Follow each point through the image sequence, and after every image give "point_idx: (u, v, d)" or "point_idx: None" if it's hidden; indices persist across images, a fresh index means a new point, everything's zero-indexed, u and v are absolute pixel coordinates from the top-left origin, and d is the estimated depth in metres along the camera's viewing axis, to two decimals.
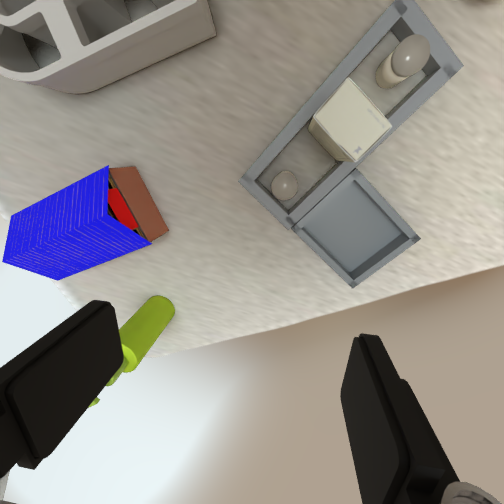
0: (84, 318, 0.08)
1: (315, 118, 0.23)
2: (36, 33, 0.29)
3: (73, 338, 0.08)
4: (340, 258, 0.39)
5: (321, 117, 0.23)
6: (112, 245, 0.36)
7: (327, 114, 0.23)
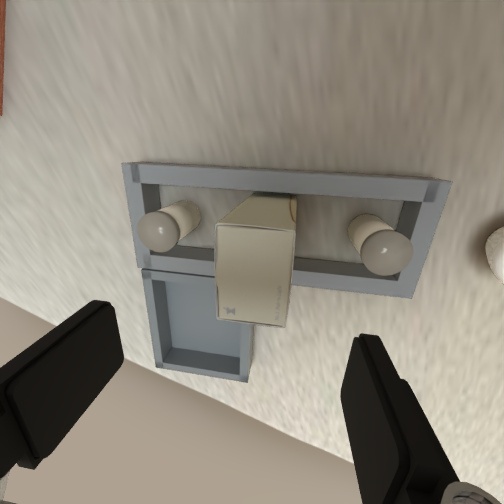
0: (84, 318, 0.08)
1: (216, 229, 0.13)
2: None
3: (73, 338, 0.08)
4: (174, 330, 0.31)
5: (223, 236, 0.13)
6: None
7: (233, 241, 0.13)
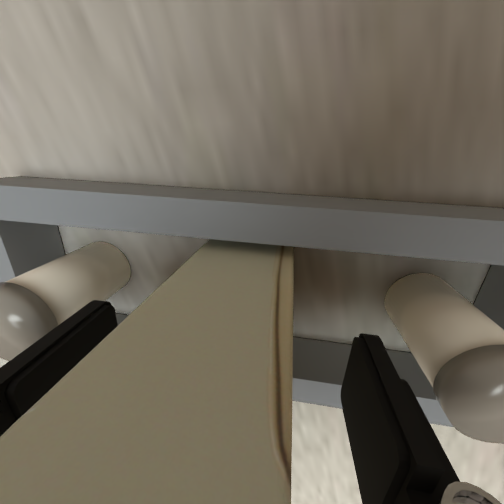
0: (84, 318, 0.08)
1: None
2: None
3: (73, 338, 0.08)
4: None
5: None
6: None
7: None
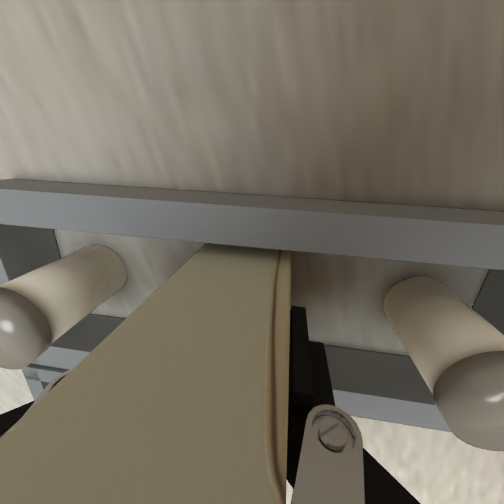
0: None
1: None
2: None
3: None
4: None
5: None
6: None
7: None
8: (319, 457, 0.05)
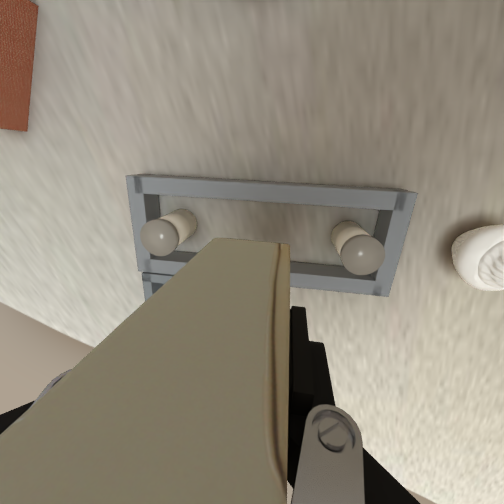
0: None
1: None
2: None
3: None
4: None
5: None
6: None
7: None
8: (319, 457, 0.05)
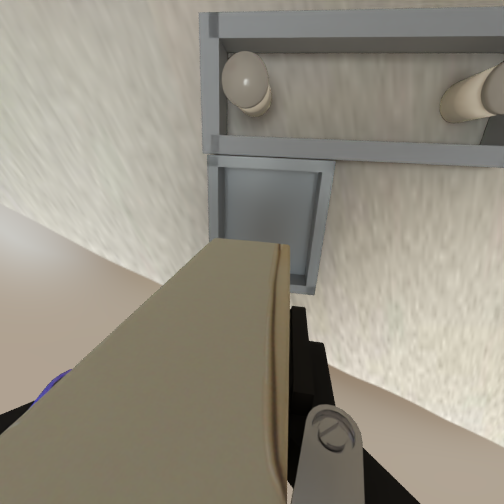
0: None
1: None
2: None
3: None
4: None
5: None
6: None
7: None
8: (319, 457, 0.05)
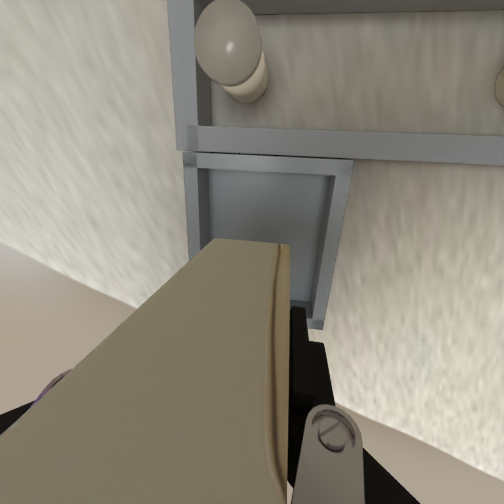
0: None
1: None
2: None
3: None
4: None
5: None
6: None
7: None
8: (319, 457, 0.05)
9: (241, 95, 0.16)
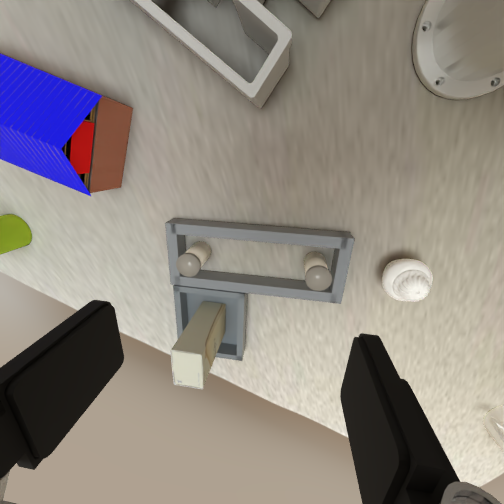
0: (84, 318, 0.08)
1: (171, 351, 0.32)
2: None
3: (73, 338, 0.08)
4: None
5: (174, 354, 0.32)
6: (46, 167, 0.30)
7: (178, 356, 0.32)
8: None
9: None
